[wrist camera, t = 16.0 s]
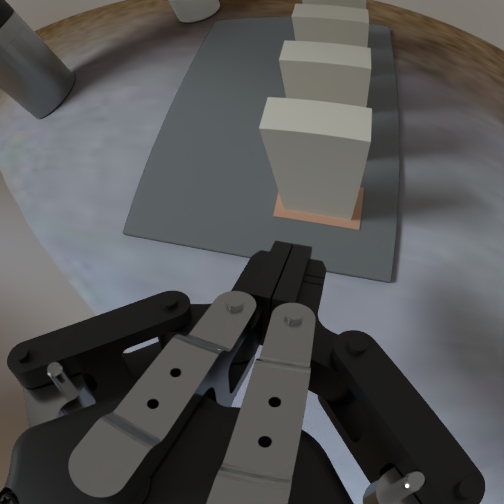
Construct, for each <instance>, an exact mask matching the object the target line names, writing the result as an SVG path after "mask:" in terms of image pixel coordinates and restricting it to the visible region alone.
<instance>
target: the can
mask: <svg viewBox="0 0 504 504" xmlns="http://www.w3.org/2000/svg"><path fill="white" fill-rule="evenodd" d="M169 2H170V4H171V6H172V8H173V10H174V12H175V14H176V16H177V18H178V19H179V21H181V22H184V23H194V22H199V21H202V20H204V19H207V18H209V17H211V16H212V15H214V14H215V13H216V12H217V11H218V9H219V7H220V3H219V0H169Z"/></svg>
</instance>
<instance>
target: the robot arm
mask: <svg viewBox="0 0 504 504" xmlns="http://www.w3.org/2000/svg"><path fill="white" fill-rule="evenodd" d="M74 81H75V76H74V74H73V73H72V72H71V71H70V70H69V69H68V68H67V67H66V66H65V65H64V64H63V62H62V61H61V60H60V59H59V58H58V57H57V56H56V55H55V54H54V53H53V52H52V50H51V49H50V48H49V47H48V46H47V45H46V44H45V43H44V42H43V41H42V40H41V39H40V38H39V36H38V35H37V34H36V33H35V32H34V31H33V30H32V29H31V28H30V27H29V26H28V25H27V24H26V23H25V21H23V19H22V18H21V17H20V16H19V15H18V14H17V13H16V12H15V11H14V10H13V8H12V7H11V6H10V5H9V4H8V3H7V2H6V1H5V0H0V88H1V89H2V90H3V91H4V92H5V93H7V94H8V95H9V96H10V97H11V98H13V99H14V100H15V101H16V102H17V103H19V104H20V105H21V106H22V107H23V108H25V109H26V110H27V111H28V112H30V113H31V114H32V115H33V116H34V117H36V118H42V117H45V116H46V115H48V114H49V113H51V112H52V111H53V110H54V109H55V108H56V107H57V106H58V105H59V104H60V103H61V102H62V101H63V100H64V98H65V97H66V96H67V94H68V93H69V91H70V90H71V88H72V86H73V84H74ZM311 254H312V246H306V245H300V244H294V245H293V243H288V242H282V241H275V242H274V244H273V246H272V248H271V250H270V252H269V251H264V250H260V251H259V252H257V253H255V254H254V255H252V257H251V258H250V260H249V262H248V264H247V265H246V267H245V268H244V271H243V272H242V273H241V275H240V277H239V279H238V280H237V282H236V284H235V285H234V287H233V289H232V290H231V291H230V292H226V293H223V294H221V295H220V296H218V297H217V298H216V299H215V301H214V302H213V303H212V304H190V299H189V298H188V296H187V295H186V294H184V293H182V292H179V291H166V292H162V293H159V294H157V295H154V296H151V297H148V298H146V299H143V300H140V301H137V302H134V303H132V304H129V305H126V306H123V307H120V308H118V309H115V310H112V311H109V312H106V313H104V314H101V315H98V316H95V317H92V318H90V319H87V320H84V321H82V322H78V323H76V324H73V325H70V326H67V327H64V328H61V329H58V330H56V331H53V332H50V333H47V334H44V335H41V336H38V337H36V338H33V339H30V340H27V341H24V342H22V343H19V344H18V345H16V346H15V347H14V348H13V349H12V350H11V352H10V353H9V356H8V359H7V364H8V367H9V369H10V370H11V371H12V373H13V374H14V375H15V376H16V378H17V379H18V381H19V382H20V384H21V386H22V387H23V390H24V398H25V407H26V413H27V419H28V425H29V429H27V430H26V431H25V432H23V433H22V434H21V435H20V437H19V438H18V439H17V441H16V443H15V445H14V447H13V450H12V456H11V464H10V469H9V474H8V478H7V481H6V484H5V486H4V488H3V490H2V491H1V492H0V504H354V503H353V502H352V500H351V498H350V496H349V494H348V493H347V491H346V489H345V487H344V485H343V484H342V482H341V480H340V478H339V476H338V474H337V473H336V471H335V469H334V467H333V465H332V463H331V461H330V460H329V458H328V456H327V454H326V452H325V451H324V449H323V448H322V447H321V445H320V444H319V443H318V442H317V441H316V440H315V439H314V438H313V437H312V436H311V435H309V434H308V433H307V432H305V431H303V430H302V424H303V418H304V412H305V406H306V399H307V393H308V390H310V391H311V392H313V393H315V394H317V395H318V400H319V402H320V404H321V406H322V407H323V409H324V410H325V412H326V414H327V415H328V417H329V418H330V420H331V422H332V423H333V425H334V427H335V428H336V430H337V431H338V433H339V435H340V436H341V438H342V439H343V441H344V443H345V444H346V446H347V447H348V449H349V450H350V452H351V454H352V455H353V457H354V458H355V460H356V462H357V463H358V465H359V466H360V468H361V469H362V471H363V473H364V474H365V476H366V477H367V479H368V480H369V482H370V483H371V484H370V485H369V486H368V488H367V489H366V491H365V493H364V495H363V504H479V503H480V502H481V500H482V498H483V496H484V492H485V481H484V478H483V476H482V474H481V472H480V471H479V470H478V468H477V467H476V466H475V464H474V463H473V462H472V460H471V459H470V458H469V456H468V455H467V454H466V452H465V451H464V450H463V449H462V447H461V446H460V445H459V443H458V442H457V441H456V439H455V438H454V437H453V436H452V434H451V433H450V432H449V430H448V429H447V428H446V427H445V425H444V424H443V423H442V422H441V420H440V419H439V418H438V416H437V415H436V414H435V413H434V411H433V410H432V409H431V408H430V406H429V405H428V404H427V403H426V401H425V400H424V399H423V398H422V397H421V395H420V394H419V393H418V392H417V390H416V389H415V388H414V387H413V385H412V384H411V383H410V382H409V381H408V379H407V378H406V377H405V376H404V375H403V373H402V372H401V371H400V370H399V369H398V367H397V366H396V365H395V364H394V363H393V361H392V360H391V359H390V358H389V357H388V355H387V354H386V353H385V352H384V351H383V349H382V348H381V347H380V346H379V345H378V344H377V342H376V341H375V340H374V339H373V338H372V337H371V336H369V335H368V334H366V333H364V332H361V331H356V330H350V331H345V332H343V333H341V334H339V335H337V334H335V333H333V332H331V331H329V330H328V329H326V328H325V327H324V326H323V325H322V324H321V323H320V321H319V319H318V310H319V305H320V300H321V295H322V290H323V285H324V279H325V274H326V267H325V265H324V263H323V261H320V260H314V259H311ZM156 337H158V340H159V342H156V343H154V344H151V345H149V346H146V347H143V348H141V349H138V350H136V351H133V352H130V353H123V352H124V350H126V349H127V348H130V347H132V346H135V345H137V344H140V343H143V342H145V341H148V340H150V339H153V338H156ZM259 345H263V348H262V351H261V354H260V358H259V359H256V361H255V364H254V367H253V370H252V373H251V377H250V380H249V383H248V387H247V390H246V393H245V396H244V399H243V403H242V406H241V408H236V407H232V403H233V400H234V398H235V396H236V394H237V393H238V391H239V389H240V387H241V385H242V383H243V381H244V379H245V378H246V376H247V374H248V372H249V370H250V368H251V366H252V364H253V362H254V359H255V354H256V351H257V349H258V346H259Z"/></svg>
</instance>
